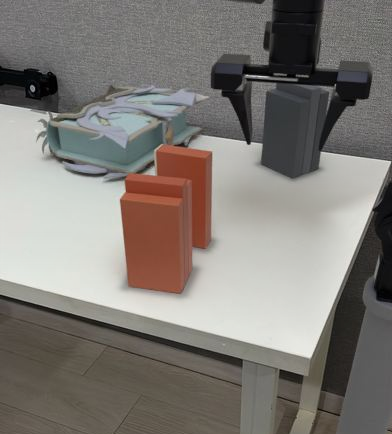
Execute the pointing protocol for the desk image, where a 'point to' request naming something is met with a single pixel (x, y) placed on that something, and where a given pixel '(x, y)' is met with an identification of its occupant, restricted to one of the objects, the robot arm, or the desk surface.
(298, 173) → the grey books
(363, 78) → the robot arm
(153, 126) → the ornate book
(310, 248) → the desk surface
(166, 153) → the terracotta book
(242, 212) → the desk surface
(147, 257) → the terracotta books
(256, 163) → the desk surface
